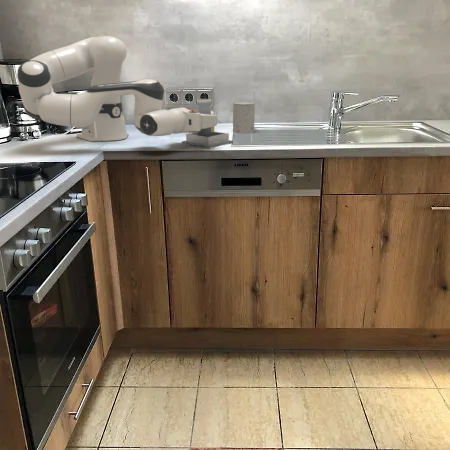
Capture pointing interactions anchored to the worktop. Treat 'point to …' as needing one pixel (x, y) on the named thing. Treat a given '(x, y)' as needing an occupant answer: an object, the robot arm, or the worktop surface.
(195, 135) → the grey square tray
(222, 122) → the worktop surface
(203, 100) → the post
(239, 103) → the grey cylinder
